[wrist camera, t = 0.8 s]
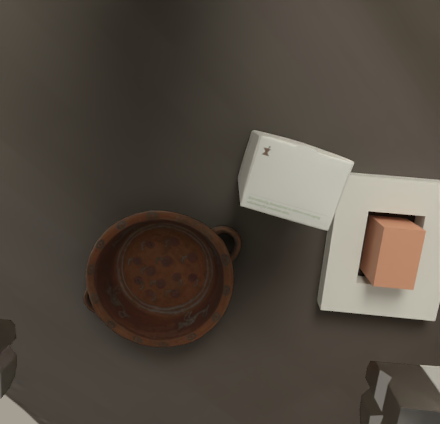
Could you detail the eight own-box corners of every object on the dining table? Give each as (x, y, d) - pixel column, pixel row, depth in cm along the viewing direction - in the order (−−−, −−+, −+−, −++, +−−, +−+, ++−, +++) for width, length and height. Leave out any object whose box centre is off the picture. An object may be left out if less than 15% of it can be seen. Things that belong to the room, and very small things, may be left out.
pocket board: (336, 171, 47) (341, 174, 45) (455, 181, 47) (466, 184, 44) (316, 300, 52) (320, 309, 49) (426, 311, 51) (435, 321, 49)
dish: (271, 289, 52) (273, 307, 47) (128, 352, 56) (117, 375, 51) (209, 170, 49) (205, 177, 44) (61, 246, 52) (43, 259, 47)
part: (368, 214, 49) (384, 227, 43) (406, 217, 48) (426, 230, 43) (359, 267, 50) (373, 286, 45) (395, 271, 50) (413, 290, 45)
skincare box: (236, 178, 48) (233, 207, 33) (252, 125, 47) (257, 130, 32) (302, 197, 49) (328, 236, 33) (320, 145, 47) (357, 160, 32)
